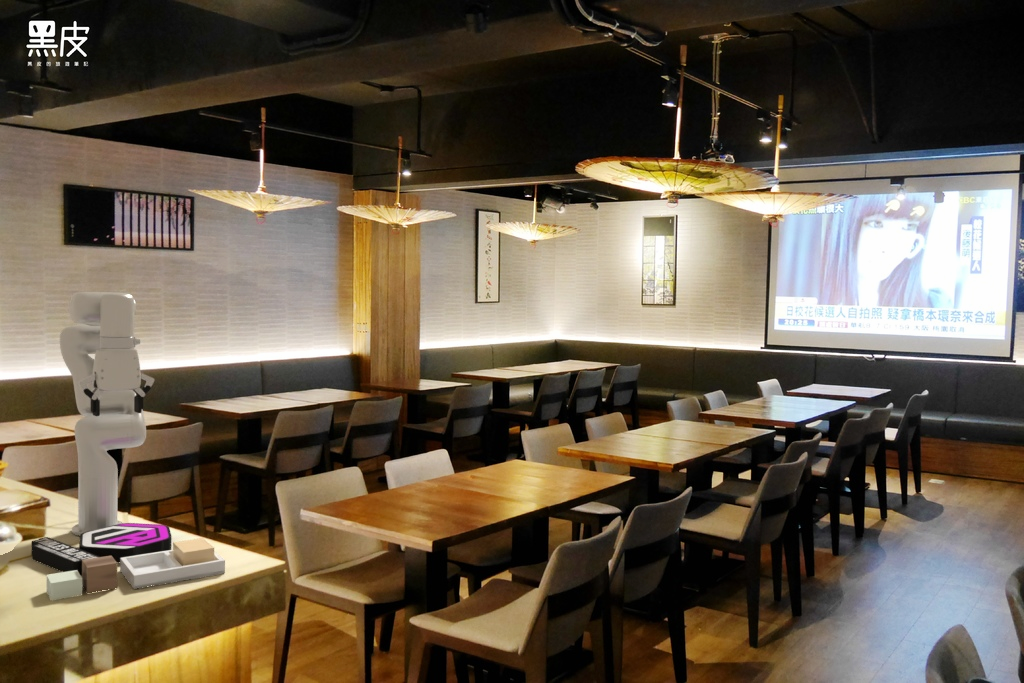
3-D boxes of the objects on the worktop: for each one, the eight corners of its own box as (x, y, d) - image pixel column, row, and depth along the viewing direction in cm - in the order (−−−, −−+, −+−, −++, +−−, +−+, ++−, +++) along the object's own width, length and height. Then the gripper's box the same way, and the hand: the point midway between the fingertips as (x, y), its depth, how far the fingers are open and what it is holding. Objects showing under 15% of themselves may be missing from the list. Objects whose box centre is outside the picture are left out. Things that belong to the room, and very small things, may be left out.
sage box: (46, 592, 181) (46, 574, 181) (77, 587, 185) (77, 569, 185) (50, 601, 177) (50, 583, 176) (82, 596, 180) (82, 578, 180)
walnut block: (82, 586, 186) (82, 559, 185) (111, 581, 189) (111, 555, 189) (87, 594, 181) (87, 567, 180) (117, 589, 184) (117, 563, 184)
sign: (83, 582, 189) (198, 550, 214) (83, 565, 188) (198, 535, 213) (23, 557, 204) (136, 530, 229) (23, 542, 203) (136, 516, 228)
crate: (120, 571, 195) (120, 547, 195) (206, 556, 207) (206, 534, 207) (134, 589, 184) (134, 564, 184) (224, 573, 196) (225, 549, 196)
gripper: (148, 342, 210) (148, 409, 211) (74, 344, 199) (74, 415, 199) (159, 344, 205) (159, 413, 206) (83, 345, 193) (83, 418, 194)
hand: (117, 414), depth 203 cm, fingers open, 9 cm apart
